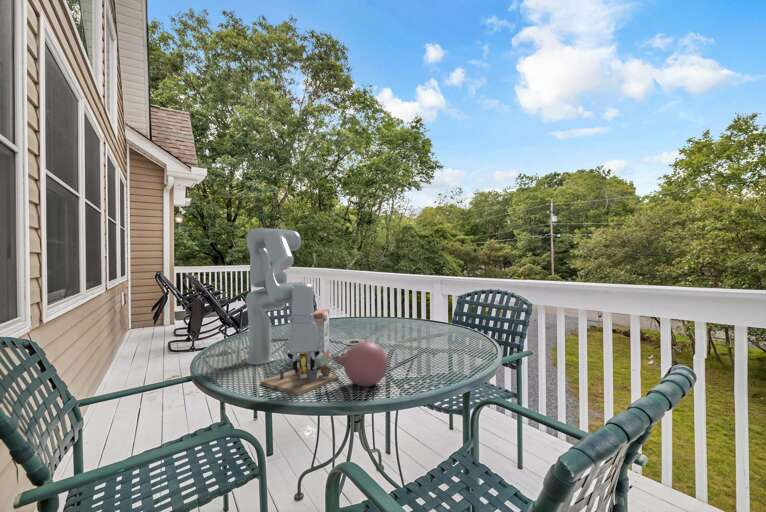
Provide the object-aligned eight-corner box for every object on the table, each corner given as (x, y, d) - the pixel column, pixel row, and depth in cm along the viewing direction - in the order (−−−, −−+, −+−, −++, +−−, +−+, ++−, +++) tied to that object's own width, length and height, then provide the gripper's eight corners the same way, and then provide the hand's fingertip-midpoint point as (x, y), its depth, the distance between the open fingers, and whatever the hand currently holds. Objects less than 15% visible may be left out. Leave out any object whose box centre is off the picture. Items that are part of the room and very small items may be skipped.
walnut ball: (318, 375, 138) (318, 364, 138) (325, 372, 142) (325, 362, 142) (326, 377, 136) (326, 366, 136) (333, 374, 139) (333, 363, 139)
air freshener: (318, 371, 150) (318, 346, 150) (299, 370, 151) (298, 346, 151) (327, 363, 160) (326, 340, 160) (308, 363, 162) (308, 340, 162)
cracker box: (325, 360, 165) (324, 313, 165) (311, 360, 165) (310, 313, 165) (330, 352, 179) (329, 308, 179) (317, 352, 179) (316, 309, 179)
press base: (260, 384, 135) (259, 369, 135) (300, 370, 151) (300, 356, 151) (299, 395, 124) (298, 378, 124) (338, 378, 140) (338, 364, 140)
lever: (296, 367, 144) (295, 344, 144) (307, 366, 145) (307, 343, 145) (297, 380, 129) (296, 355, 129) (310, 379, 130) (309, 353, 130)
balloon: (339, 376, 142) (338, 336, 142) (390, 378, 139) (390, 337, 139) (325, 391, 127) (324, 346, 127) (383, 394, 124) (382, 347, 124)
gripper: (277, 322, 125) (278, 376, 125) (328, 319, 130) (329, 371, 130) (277, 318, 132) (278, 370, 132) (325, 316, 137) (326, 365, 137)
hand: (303, 370), depth 131 cm, fingers open, 4 cm apart
